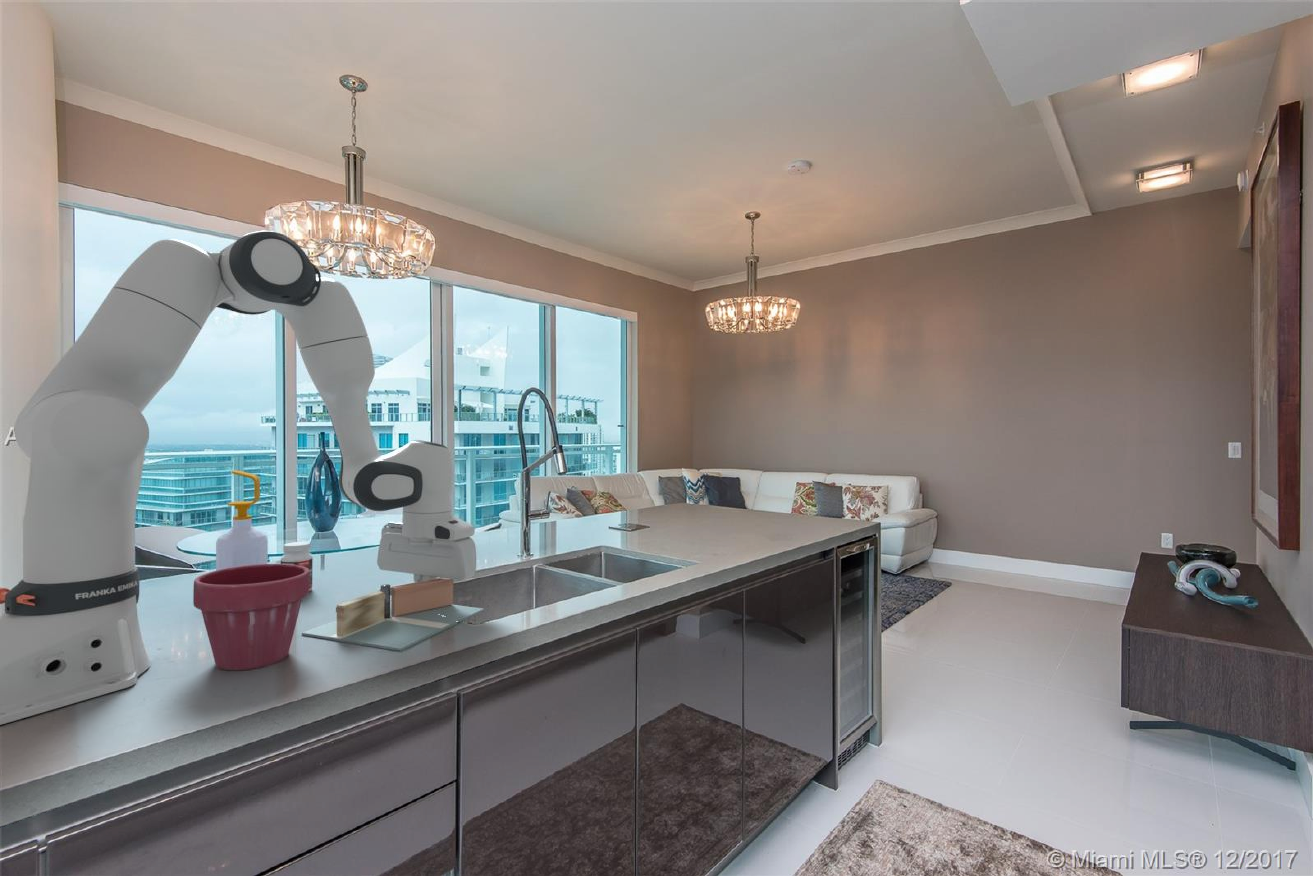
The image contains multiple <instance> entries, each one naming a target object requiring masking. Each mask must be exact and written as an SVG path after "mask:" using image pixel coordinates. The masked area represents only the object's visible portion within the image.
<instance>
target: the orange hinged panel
mask: <svg viewBox="0 0 1313 876" xmlns="http://www.w3.org/2000/svg"><path fill="white" fill-rule="evenodd" d="M390 600H391V614H392V615H393V616H398V615H403V614H408V613H413V612H418V611H423V610H428V609H433V608H438V607H443V606H448V605H454V579H448V578H438V579H436V580H430V581H424V582H418V583H415V582H413V583H408V584H400V585H395V586H390Z"/></svg>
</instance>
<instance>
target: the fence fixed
mask: <svg viewBox="0 0 1313 876" xmlns="http://www.w3.org/2000/svg"><path fill="white" fill-rule="evenodd" d="M384 599H385V594H384V592H381V590H377V591H375V592H371V593H369V594H365V595H363V596H359V597H357V598H353V599H351V600H347V601H345V602H342V603H339V604H337V605H336V606H335V613H336V620H337V635H340V636H345V635H347V634H349V633H352V632H354V631H357V630H359V629H362V628H364V627H367V626H369V625H372V624H374V623H377V622H379V621H382V620H384Z"/></svg>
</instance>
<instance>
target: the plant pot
mask: <svg viewBox="0 0 1313 876" xmlns="http://www.w3.org/2000/svg"><path fill="white" fill-rule="evenodd" d="M192 590H193V591H192V592H193V598H192V600H193V602H192V605H193V606H194V607H195V609H198V610H200V611H201V614H202V618H203V623H204V626H205V630H206V634H207V637H208V641H209V644H210V648H211V652H212V656H213V660H214V663H215V666H216V667H217V668H219V669H221V670H227V671H245V670H254V669H259V668H263V667H267V666H270V665H273V664H276V663H279V662H280V661H282V660H284V659H285V658H286V657H287V656H288V655H289V653H290V650H291V649H290V648H291V644H292V641H293V636H294V634H295V630H296V626H297V622H298V617H299V613H300V610H301V605H302V601H303V598H305V597H307V596H308V594H309V592H310V591H309V569H308V568H306V567H303V566H299V565H292V564H281V563H267V564H258V565H247V566H239V567H232V568H226V569H221V570H217V571H216V570H214V571H213V570H212V571H210V572H206V573H204V574H200V575H199V576H196V578H195V579H194V580H193V589H192Z"/></svg>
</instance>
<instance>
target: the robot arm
mask: <svg viewBox="0 0 1313 876" xmlns="http://www.w3.org/2000/svg"><path fill="white" fill-rule="evenodd" d="M321 275H322V274H321V272H320V270H319V269H318V268H317V266H315V265H314V264H313V262H311V260H310V258H309V257H308V255H307V253H306V252H305V251H304V250H303V249H302V248H301V246H300V245H299V244H298V243H297V242H296V241H294V240H293V239H292V238H290V237H289V236H287V235H285V234H283V233H280V232H276V231H271V230H260V231H259V230H257V231H253V232H248V233H246V234H244V235H242V236H240V237H238V239H236V240H235V241H234V242H233V243H231V244H229V245H228V246H226V247H225V248H223V249H222V250H220V251H219V252H210V251H206V250H205V251H204V249H202V248H200V247H198V246H197V245H194V244H192V243H189V242H186V241H183V240H178V239H170V238H168V239H161V240H157V241H156V242H154V243H152V244H151V245H149V246H148V247H147V249H145V250H144V251H143V252H142V253H141V254H139V256H138V257H137V258H136V259H135V260H133V262H132V263H130V265H129V266H128V267H127V268H126V269H125V270H124V272H123V273H122V274H121V276H120V277H119V278H118V279H117V280H116V283H114V285H113V287H112V288H111V289H110V291H109V293H108V294H107V295H106V296H105V298H104V300H103V302H101V304H100V306H99V307H98V308H97V310H96V312H95V313H94V314H93V316H92V317H91V319H90V320H89V322H88V323H87V325H86V326H85V328H84V330H82V332H81V334H80V335H79V336H78V338H77V339H76V341H75V342H74V343H73V344H72V345H71V346H70V348H69V349H68V350H67V352H66V353H65V354H64V355H63V356H62V358H61V359H59V361H58V362H57V364H56V365H55V366H54V368H53V369H52V370H51V371H50V372H49V374H48V375H47V377H45V379H44V380H43V382H42V383H41V384H40V386H39V387H38V388H37V389H36V391H35V392H34V393H33V395H32V396H31V397H30V398H29V400H28V401H27V402H26V404H25V405H24V407H23V408H22V410H21V411H19V413H18V415H17V417H16V420H15V422H14V423H15V424H14V429H13V431H14V433H13V434H14V439H15V441H16V443H17V445H18V446H19V449H20V450H21V451H22V452H23V453H24V454H25V455H26V456H27V457H29V458H30V463H29V464H30V465H29V475H28V477H29V478H28V486H27V496H26V504H25V509H24V514H23V518H22V579H21V580H20V581H18V583H17V584H16V585H15V586H13V587H12V588H11V589H9V588H7V587H0V605H3V604H4V613H3V614H2V615H1V616H0V726H1V725H4V724H8V723H12V722H15V721H18V720H22V719H24V718H28V717H32V716H35V715H39V714H43V713H46V712H49V711H53V710H56V709H59V708H62V707H65V706H69V705H73V704H75V703H79V702H82V701H87V700H89V699H93V698H96V697H100V696H103V695H106V694H109V693H112V692H117V691H120V690H123V689H126V688H127V689H128V688H129V687H132V686H134V685H135V684H136V683H137V681H138V677H140V675H141V674H143V673H144V672H146V670H147V669H149V667H150V666H151V661H150V658H149V655H148V653H147V650H146V648H145V645H144V641H143V636H142V633H141V627H140V621H139V615H138V605H137V604H138V603H139V600H140V599H139V598H140V570H139V567H137V566H136V510H137V504H138V499H139V498H138V497H139V493H140V486H141V482H142V475H143V470H144V463H145V461H144V460H145V455H146V454H145V453H146V448H147V447H148V442H149V440H150V427H149V423H148V421H147V419H146V418H145V416H144V414H143V411H144V410H145V409H146V407H147V406H148V405H149V404H150V402H151V401H152V400H153V399H154V398H155V396H156V395H157V394H158V393H159V392H160V390H161V389H162V388H163V387H164V386H165V385H166V384H167V383H168V382H169V381H170V380H171V379H172V378H173V377H174V376H175V374H176V373H177V370H178V369H179V368H180V365H182V362H183V361H184V359H185V358H186V356H187V354H188V353H189V350H190V349H191V347H192V345H194V342H195V341H196V339H197V337H198V336H199V334H200V333H201V330H202V329H203V327H204V326H205V324H206V322H207V320H208V318H209V316H210V315H211V314H212V312H213V311H215V309H216V308H219V309H223V310H227V311H230V312H231V311H232V312H234V313H238V314H242V315H243V314H244V315H249V316H250V315H252V316H253V315H254V316H255V315H261V314H265V313H268V312H270V311H276V312H277V313H279V314H280V315H281V316H283V318H284V319H285V320H286V321H287V323H288V324H289V325H290V327H291V329H292V331H293V332H294V335H295V339H296V343H297V345H298V350H299V353H300V356H301V359H302V361H303V364H304V366H305V368H306V371H307V373H308V375H309V377H310V379H311V380H312V383H313V385H314V386H315V389H316V390H317V392H318V394H319V395H320V397H321V400H322V402H323V403H324V405H325V408H326V410H327V411H328V414H329V417H330V421H331V424H332V428H333V431H334V432H333V433H334V435H335V439H336V441H337V444H338V448H339V451H340V456H341V457H340V459H341V460H340V461H341V463H340V468H339V475H338V486H339V490H340V492H341V494H342V496H343V497H344V498H345V499H346V500H347V501H348V502H350V503H351V504H353V505H356V506H358V507H359V506H360V507H362V508H364V509H366V510H369V511H371V512H379V513H380V512H386V511H391V510H395V509H400V508H402V518H401V519H402V522H395V521H389V522H388V523H387V524H384V526H383V527H382V529H381V531H380V532H381V535H380V541H379V545H378V552H377V560H376V562H377V563H376V564H377V566H378V568H379V570H380V571H381V570H382V571H388V572H396V573H402V574H410V575H413V582H414V583H418V582H424V581H430V580H436V579H437V578H439V579H442V578H448V579H453V580H456V581H457V580H458V581H465V580H468V579H470V578H472V577H473V576H474V575H475V574H476V571H477V546H476V543H475V541H474V539H473V538H472V537H473V536H474V535H475V533H476V532H475V530H476V529H475V526H474V525H473V524H471V523H469V522H467V521H465V520H463V519H461V518H459V517H457V516H455V515H453V507H452V502H451V494H452V491H453V487H454V468H453V457H452V453H451V450H450V449H449V448H448V447H447V446H445V445H444V444H442V443H441V444H440V443H438V442H431V441H429V440H428V441H425V440H420V439H413V440H410V441H409V442H408V443H407V444H404V445H403V446H401V447H400V448H398V449H395V450H394V451H391V452H389V453H386V454H383V455H382V453H381V452H380V451H379V449H378V446H377V444H376V441H375V437H374V433H373V429H372V426H371V422H370V418H369V414H368V411H367V397H368V393H369V391H370V390H369V389H370V387H371V385H372V383H373V380H374V377H375V373H376V371H375V362H374V355H373V349H372V346H371V341H370V338H369V335H368V332H367V328H366V325H365V324H364V323H365V322H364V321H363V318H362V315H361V313H360V311H359V309H358V307H357V305H356V303H355V301H354V299H353V297H352V295H351V293H350V291H349V289H348V287H346V286H345V285H344V284H343V283H342V282H340V281H338V280H336V279H332V278H328V277H322V276H321Z"/></svg>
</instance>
